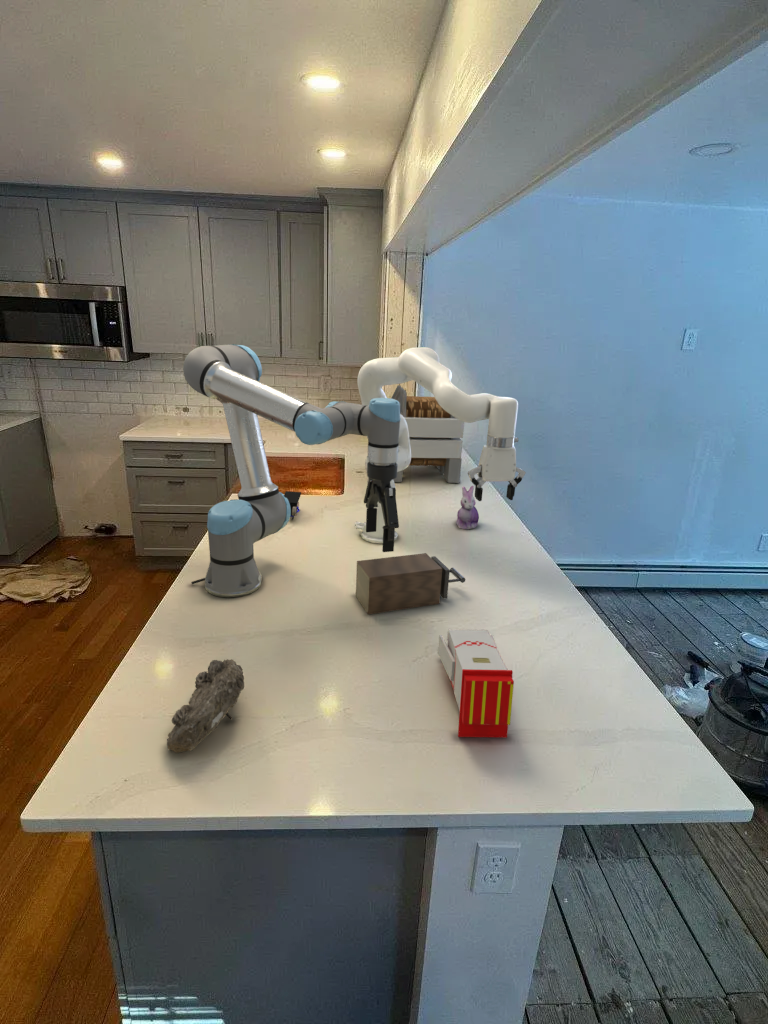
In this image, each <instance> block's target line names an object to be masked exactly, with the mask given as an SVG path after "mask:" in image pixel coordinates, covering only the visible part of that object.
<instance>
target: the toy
mask: <svg viewBox="0 0 768 1024" xmlns="http://www.w3.org/2000/svg"><path fill="white" fill-rule="evenodd" d="M446 640H447V643H446V641H445V639H444V636H443V635H442V634H439V637H438V646H437V656H438V657H439V659H440V661H441V663H442V666H443V668H444V670H445V672H446V674H447V677H448V679H449V681H450V684H451V687H452V690H453V693H454V697H455V701H456V705H457V708H458V711H459V714H458V715H459V716H458V730H457V731H458V732H457V737H458V738H508V731H509V726H510V725H511V717H512V707H513V697H514V696H513V695H514V684H515V680H514V679H513V673H514V671H513V670H512V669H508V667H507V665H506V662H505V661H504V659H503V658H502V655H501V653H500V651H499V649H498V647H497V643H496V639H495V637H494V635H493V634H491V632H490V631H489V629H467V628H466V629H465V628H463V629H461V628H460V629H459V628H448V630H447V639H446Z"/></svg>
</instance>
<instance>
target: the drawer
mask: <svg viewBox="0 0 768 1024" xmlns="http://www.w3.org/2000/svg"><path fill="white" fill-rule="evenodd" d="M430 557H431V558H432V559H433V560H434V561H435V562H436V563H437V564H438V565H439V566H440V567H441V568H442V577H441V589H440V598H442V599H448V593H449V583H457V582H459V583H461V584H463V583H465V582H466V577H464V576H463V575H462V574H461V573H460V572H459V571H458V570H457V569H456V568H455V567H451V568H449V567H447V566H446V565H445V564H444V562H442V561H441V560H440V559H439V558H438V557H437V556H436V555H433V556H430ZM450 573H451V575H453V576H454V578H451V579H450Z"/></svg>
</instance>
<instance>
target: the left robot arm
mask: <svg viewBox="0 0 768 1024" xmlns="http://www.w3.org/2000/svg"><path fill="white" fill-rule="evenodd" d="M182 365H183V366H182V372H183V376H184V379H185V381H186V383H187V384H188V385H189V386H190V387H191V388H192V389H193V390H194V391H195V392H197V393H199V394H200V395H202V396H204V397H207V398H209V399H212V400H217V402H220V404H222V406H223V407H222V408H223V411H224V416H225V419H226V425H227V430H228V434H229V437H230V443H231V447H232V452H233V456H234V461H235V464H236V468H237V473H238V478H239V482H240V487H241V488H240V490H239V491H238V492H237V498H238V499H237V498H236V499H229V500H223V501H220V502H217V503H216V504H214V505H213V506H212V507H211V508H210V509H209V510H208V511H207V521H206V522H207V523H206V528H207V535H208V536H207V537H208V548H209V564H208V567H207V571H206V575H205V577H203V578H200V579H195V580H193V581H191V582H190V584H191V585H195V584H198V583H202V582H204V589H205V591H206V592H207V593H208V594H210V595H212V596H215V597H219V598H238V597H244V596H247V595H249V594H252V593H254V592H256V591H258V589H260V587H261V585H262V577H263V575H262V573H261V572H260V570H259V568H258V565H257V562H256V560H255V556H254V555H255V554H254V544H255V543H257V542H259V541H261V540H263V539H265V538H267V537H269V536H271V535H274V534H276V533H279V531H281V530H282V529H284V528H285V527H286V526H287V525H288V523H289V522H290V520H291V517H290V515H291V507H290V503H289V501H288V499H287V498H285V497H284V494H285V493H283V492H281V491H280V490H279V486H278V485H277V484H275V483H273V481H272V477H271V474H270V468H269V463H268V459H267V454H266V450H265V444H264V440H263V435H262V431H261V426H260V421H259V417H261V418H263V419H266V420H267V421H270V422H272V423H274V424H277V425H279V426H281V427H283V428H285V429H287V430H289V431H292V432H294V433H295V436H296V438H298V439H299V441H300V442H301V443H302V444H304V445H307V446H315V445H322V444H324V443H327V442H329V441H332V440H335V439H338V438H342V437H345V436H348V435H357V436H362V437H367V436H368V438H367V455H366V457H367V459H368V461H369V462H368V463H367V472H366V477H367V476H368V477H369V479H368V485H367V484H366V490H365V494H364V498H363V503H364V504H365V508H366V512H365V513H366V515H365V516H366V517H365V522H366V532H376V523H377V508H374V507H378V504H377V503H378V502H379V503H380V504H381V507H382V513H383V518H384V523H385V526H383V527H382V528H383V543H382V549H381V550H382V553H391V552H394V551H395V541H394V534H395V531H396V529H399V528H400V524H399V523H400V522H399V515H398V504H397V489H396V487H395V488H391V485H390V481H391V480H393V479H395V478H396V477H397V467H398V465H397V463H396V462H397V461H398V452H399V451H400V449H399V448H398V445H399V428H400V420H401V418H400V403H399V402H398V401H397V400H395V399H391V398H392V397H391V398H390V397H387V398H373V399H371V400H370V403H369V405H362V403H361V404H360V403H355V402H354V403H353V402H346V401H343V400H341V401H329V402H328V404H327V405H326V406H325V407H324V408H321V407H319V406H317V405H314V404H312V403H310V402H308V401H305V400H303V399H300V398H299V397H296V396H293V395H291V394H289V393H286V392H284V391H282V390H280V389H277V388H275V387H273V386H270V385H268V384H266V383H263V382H261V381H260V380H261V377H262V374H263V369H262V367H263V366H262V363H261V361H260V358H259V357H258V355H257V353H256V352H255V351H254V350H252V349H251V348H250V347H248V346H246V345H243V344H234V343H232V344H230V343H229V344H220V345H219V344H216V345H201V346H198V347H196V348H194V349H192V350H191V351H189V353H188V354H187V355H186V357H185V359H184V361H183V364H182ZM367 508H368V509H367Z"/></svg>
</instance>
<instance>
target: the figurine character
mask: <svg viewBox="0 0 768 1024" xmlns="http://www.w3.org/2000/svg"><path fill="white" fill-rule="evenodd" d="M283 494H284V497H285V498H287V499H288V501H289V503H290V507H291V515H290V520H291V521H293V520H295V519H294V518H295V517H297V515H298V513H299V512H300V511H301V510H300V502H299V500H300V499H301V495H302V491H290V490H289V491H288V490H285V492H284V493H283Z"/></svg>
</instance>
